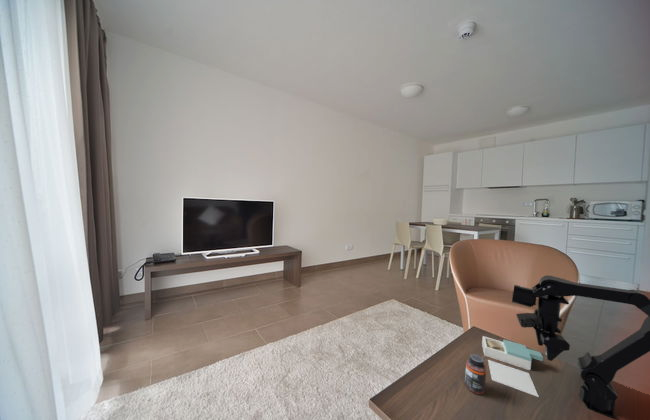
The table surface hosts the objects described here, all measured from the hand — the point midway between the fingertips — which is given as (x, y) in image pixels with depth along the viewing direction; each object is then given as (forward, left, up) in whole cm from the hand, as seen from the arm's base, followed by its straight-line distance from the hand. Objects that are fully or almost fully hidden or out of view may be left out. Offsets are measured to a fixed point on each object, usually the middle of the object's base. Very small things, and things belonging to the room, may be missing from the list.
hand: (544, 352), depth 83 cm
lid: (+4, -10, -8) cm, 13 cm away
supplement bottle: (+22, +17, -12) cm, 30 cm away
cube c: (+13, -10, -12) cm, 20 cm away
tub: (+9, -10, -12) cm, 18 cm away
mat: (+9, +3, -12) cm, 15 cm away
